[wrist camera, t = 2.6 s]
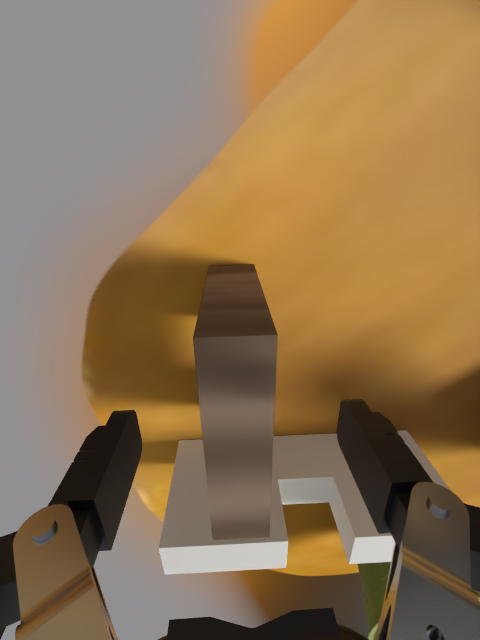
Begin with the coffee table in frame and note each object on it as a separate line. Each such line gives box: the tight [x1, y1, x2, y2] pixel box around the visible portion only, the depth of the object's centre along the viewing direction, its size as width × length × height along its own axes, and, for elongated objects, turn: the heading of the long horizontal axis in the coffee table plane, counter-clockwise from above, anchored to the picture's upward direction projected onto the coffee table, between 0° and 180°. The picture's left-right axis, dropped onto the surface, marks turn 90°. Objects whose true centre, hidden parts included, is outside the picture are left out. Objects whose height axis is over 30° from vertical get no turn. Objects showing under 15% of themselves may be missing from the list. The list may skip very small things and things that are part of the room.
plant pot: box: [358, 562, 480, 640], centre depth 31 cm, size 12×12×11 cm
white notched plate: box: [159, 430, 452, 575], centre depth 27 cm, size 4×24×10 cm, turn 91°
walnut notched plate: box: [193, 264, 277, 540], centre depth 21 cm, size 14×4×12 cm, turn 1°
